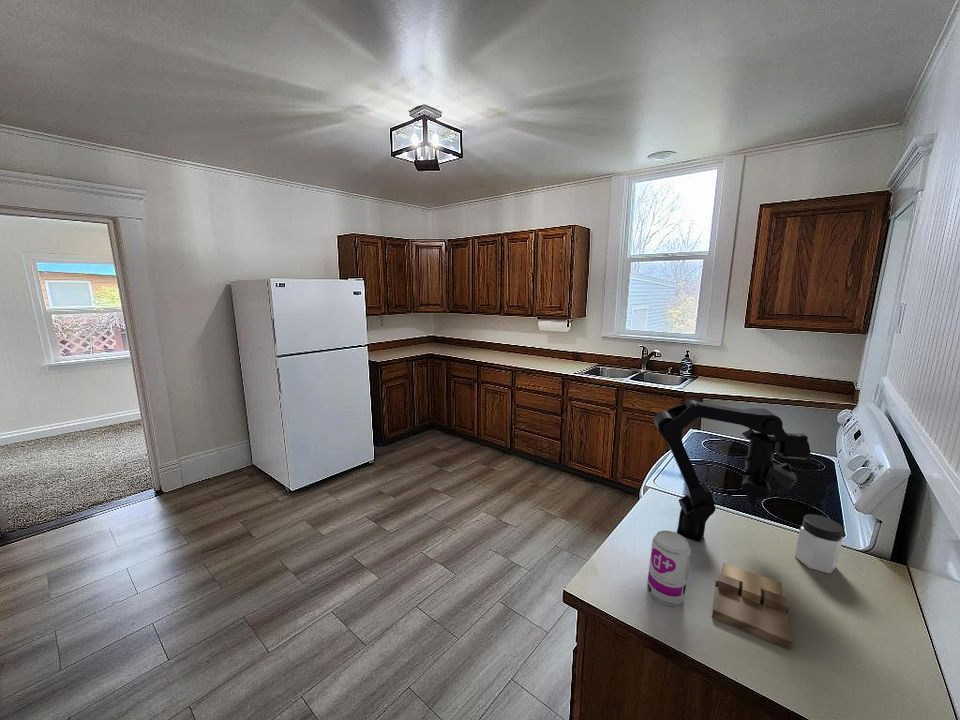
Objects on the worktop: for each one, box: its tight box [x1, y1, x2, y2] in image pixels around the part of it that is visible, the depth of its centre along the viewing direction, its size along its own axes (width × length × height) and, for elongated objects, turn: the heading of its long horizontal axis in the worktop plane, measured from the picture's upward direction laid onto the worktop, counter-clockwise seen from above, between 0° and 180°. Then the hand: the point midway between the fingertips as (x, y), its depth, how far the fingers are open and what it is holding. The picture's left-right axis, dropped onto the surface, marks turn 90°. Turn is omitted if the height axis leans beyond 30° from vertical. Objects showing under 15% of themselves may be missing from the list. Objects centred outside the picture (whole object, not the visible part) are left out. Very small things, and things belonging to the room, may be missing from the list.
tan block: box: [720, 562, 784, 605], centre depth 94 cm, size 12×8×4 cm, turn 56°
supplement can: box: [646, 530, 692, 607], centre depth 93 cm, size 8×8×15 cm
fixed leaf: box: [711, 573, 792, 650], centre depth 89 cm, size 14×11×4 cm
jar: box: [794, 513, 845, 574], centre depth 105 cm, size 9×8×12 cm
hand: (752, 504), depth 112 cm, fingers closed
